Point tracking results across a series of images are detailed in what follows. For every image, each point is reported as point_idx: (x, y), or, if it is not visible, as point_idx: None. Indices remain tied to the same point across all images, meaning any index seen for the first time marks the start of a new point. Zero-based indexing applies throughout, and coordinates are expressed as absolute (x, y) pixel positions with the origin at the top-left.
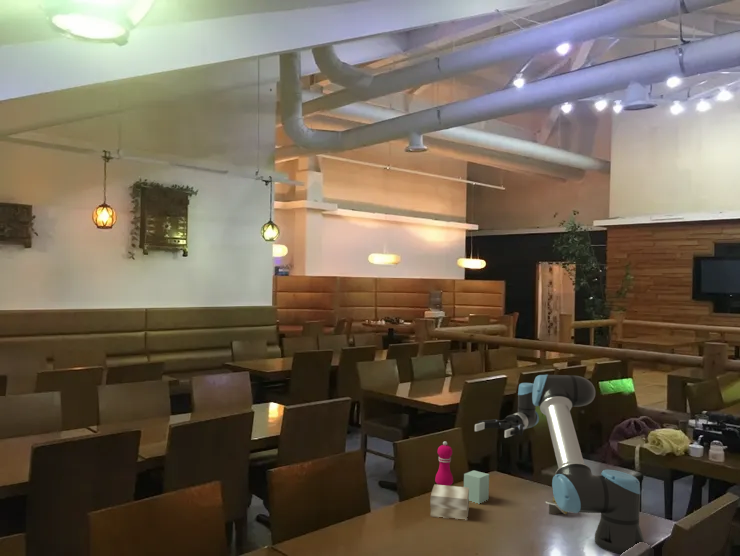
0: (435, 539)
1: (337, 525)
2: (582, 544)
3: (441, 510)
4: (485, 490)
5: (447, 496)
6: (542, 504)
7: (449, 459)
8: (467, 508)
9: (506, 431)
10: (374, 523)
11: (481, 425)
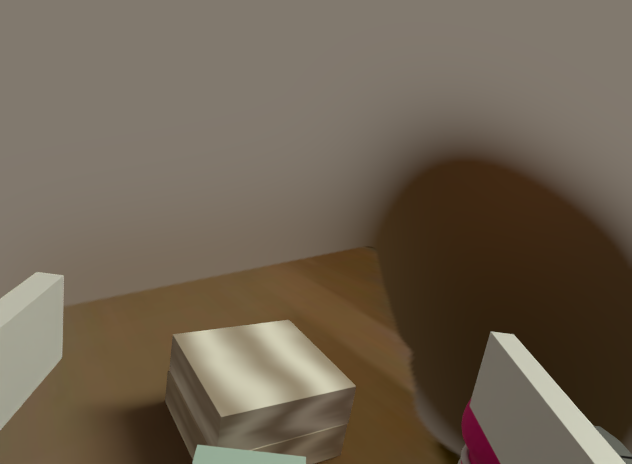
0: (192, 306)
1: (385, 295)
2: None
3: None
4: None
5: (241, 329)
6: None
7: (462, 461)
8: (174, 381)
9: (35, 281)
10: (347, 315)
11: (545, 446)
